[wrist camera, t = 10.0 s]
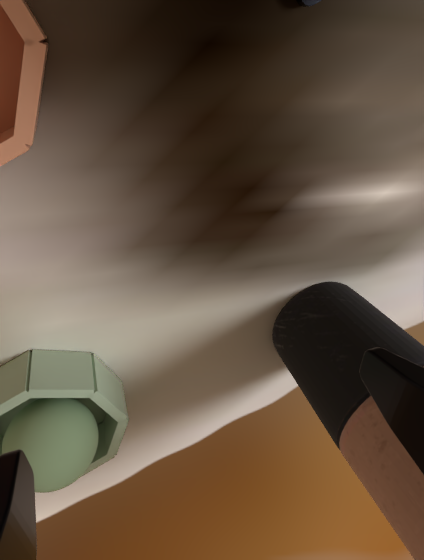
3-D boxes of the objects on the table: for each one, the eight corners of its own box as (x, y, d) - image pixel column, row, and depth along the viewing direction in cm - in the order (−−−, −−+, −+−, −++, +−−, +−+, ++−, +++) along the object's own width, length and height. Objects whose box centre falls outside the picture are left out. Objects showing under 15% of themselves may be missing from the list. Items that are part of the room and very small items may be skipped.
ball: (60, 363, 22) (66, 435, 18) (108, 404, 25) (121, 473, 21) (-16, 410, 21) (-28, 494, 17) (42, 445, 24) (43, 523, 21)
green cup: (68, 327, 21) (69, 365, 19) (140, 400, 26) (148, 436, 24) (-61, 401, 21) (-77, 449, 18) (37, 460, 26) (35, 503, 23)
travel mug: (371, 271, 27) (821, 611, 11) (345, 350, 31) (646, 682, 15) (276, 285, 24) (673, 741, 9) (261, 368, 29) (513, 784, 13)
